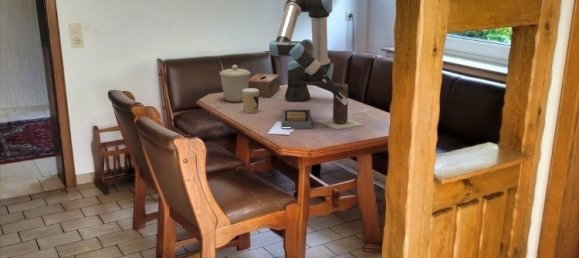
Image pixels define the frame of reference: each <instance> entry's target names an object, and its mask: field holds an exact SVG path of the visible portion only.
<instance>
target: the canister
mask: <svg viewBox="0 0 579 258" xmlns="http://www.w3.org/2000/svg"><path fill="white" fill-rule="evenodd" d="M219 75H220V79H221V86H222V87H221V88H222V91H223V92H222V93H223V97H224V99H225V101H227V102H231V103H232V102H233V103H239V102H243V96H242V90H243V89H247V88H248V86H249V79H250V75H251V71H249V70H248V69H245V68H239V66H238V65H237V64H233V65H231V68H227V69H223V70H221V71H220V72H219Z"/></svg>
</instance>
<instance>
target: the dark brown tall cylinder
mask: <svg viewBox="0 0 579 258" xmlns="http://www.w3.org/2000/svg"><path fill="white" fill-rule="evenodd" d="M334 87H335V88H336V89H337V90H338V91H339V92H340V93H341V94H342V95H343V96H344V97H345V98H346V99H347V100H348V96H349V89H348V88H349V85H348V84H347V83H343V82H341V83H340V82H334ZM332 94H333V93H332ZM332 99H333V101H332V102H333V103H332V119H333V122H334V123H335V124H342V123H346V122H347V121H348V119H349V118H348V117H349V115H348V113H349V112H348V108H349V107H348V103H349V102H348V103H347V104H346V105H344V104H343V103H342V102H341V101H340V100H339V99H338V98H337V97H336V96H335V97H334V94H333V98H332ZM348 101H349V100H348Z"/></svg>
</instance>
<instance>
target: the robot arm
mask: <svg viewBox="0 0 579 258" xmlns="http://www.w3.org/2000/svg"><path fill="white" fill-rule="evenodd" d="M283 12H284V13H283V16H282V20H281V23H280V26H279V29H278V32H277V35H276V39H275V40H271V41H270V42H269V47H268V48H269V50H268V51H269V54H270V55H271V56H275V57H291V58H292V61H290V62H288V64H287V70H286V71H287V88H286V90H285V94H284V100H285V101H287V102H288V101H289V102H291V103H292V102H294V103H300V102H301V103H302V102H308V101H310V100H311V95H310V91H309V88H308V83H312V84H313V83H314V84H322V85H324V86H325V87H326V88H327V89H328V90H329V91H330V93H331V94H334V97H335V96H336V97H337V98H338V99H339V100H340V101H341V102H342V103H343V104H344V105H346V104H347V103H349V102H350V101H349V100H347V99H346V98H345V97H344V96H343V95H342V94H341V93H340V92H339V91H338V90H337V89H336V88H335V87H334V83H335V82H334V81H333V80H332V78H333V72H334V63H332V62H331V59H330V58H329V57H328V56H329V55H328V54H329V53H328V17H330V14H331V13H332V12H333V0H286V2H285V3H284V6H283ZM301 13H308V18H310V20H311V21H310V22H311V39H308V38H305V39H303V40H301V41H299V40H297V41H296V40H292V38H293V35H294V32H295V29H296V28H295V27H296V25H297V21H298V17H299V16H300V15H301Z"/></svg>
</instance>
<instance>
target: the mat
mask: <svg viewBox="0 0 579 258" xmlns="http://www.w3.org/2000/svg"><path fill="white" fill-rule="evenodd" d="M318 123H319V124H322V125H324V126H327V127H329V128H331V129H332V130H336V131H337V130H338V131H339V130H344V129H349V128H356V127H362V126H363V125H364V124H363V123H360V122H359V121H355V120H353V119H351V118H348V121H347V122H346V123H342V124H335V123H334V122H333V118H330V119H324V120H318Z"/></svg>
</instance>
